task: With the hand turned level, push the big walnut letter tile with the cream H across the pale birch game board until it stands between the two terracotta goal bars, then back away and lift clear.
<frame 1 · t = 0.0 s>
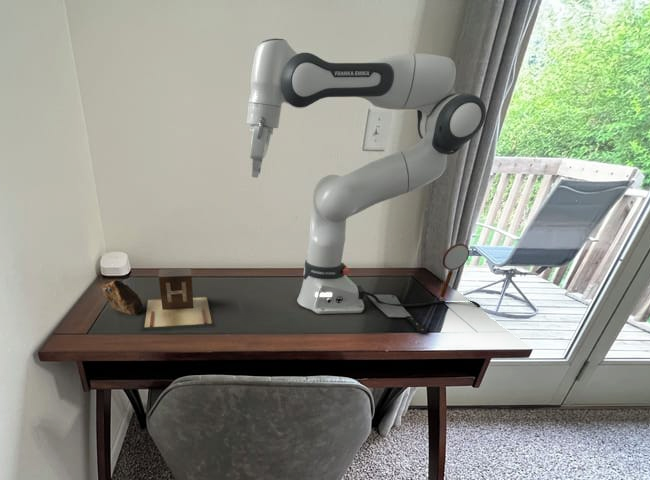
hand: (256, 175, 103), 39 cm above the table, tool pointing down, fingers open, 8 cm apart
magnifying glass: (440, 301, 126), on the table
decorative rock: (125, 312, 114), on the table
cleaver: (395, 313, 117), on the table
letter H: (177, 304, 118), point 1 cm above the table, touching game board
game board: (178, 313, 114), on the table
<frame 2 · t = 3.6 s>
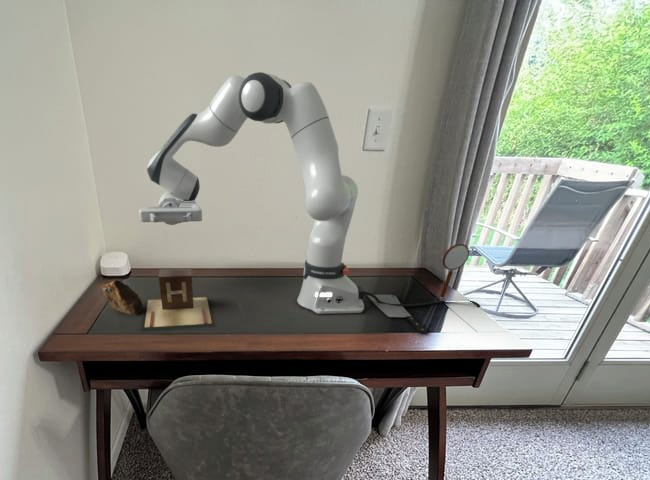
hand: (171, 219, 110), 26 cm above the table, tool horizontal, fingers open, 8 cm apart
nothing on the table moved.
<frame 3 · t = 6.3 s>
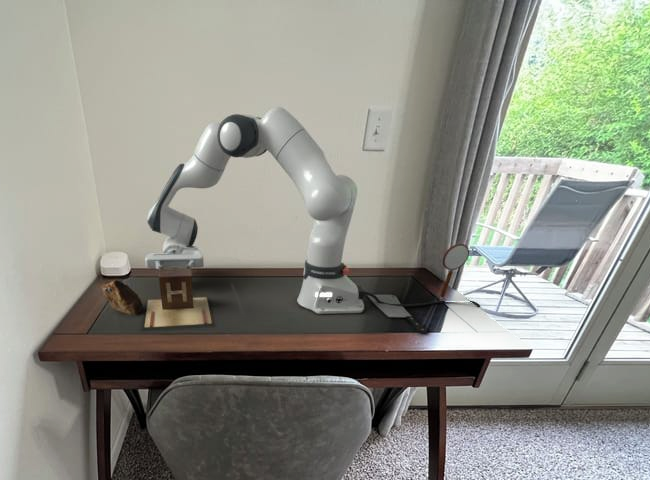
hand: (174, 268, 119), 10 cm above the table, tool horizontal, fingers open, 8 cm apart
nothing on the table moved.
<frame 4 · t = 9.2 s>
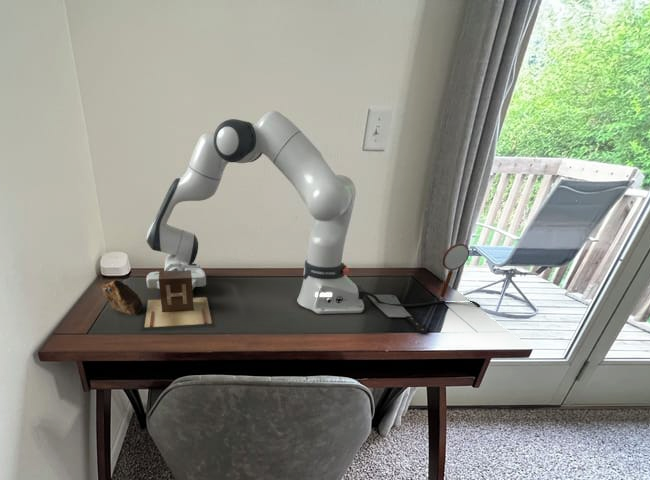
hand: (176, 288, 116), 6 cm above the table, tool horizontal, fingers open, 8 cm apart
letter H: (177, 306, 116), point 1 cm above the table, touching game board
everything else where it was.
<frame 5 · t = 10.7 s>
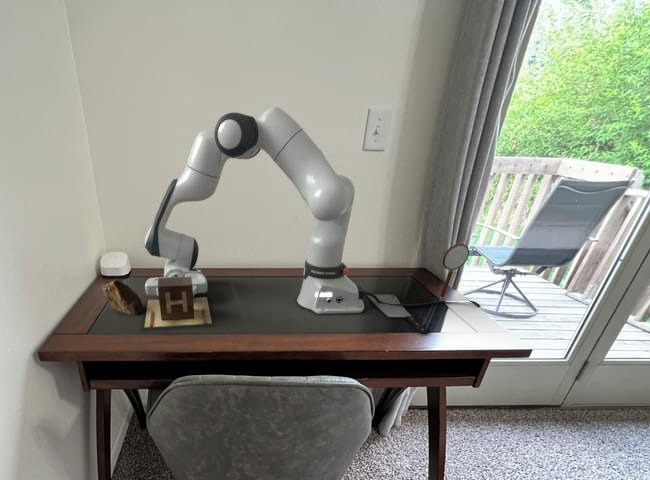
hand: (176, 295, 111), 6 cm above the table, tool horizontal, fingers open, 8 cm apart
letter H: (178, 314, 111), point 1 cm above the table, touching game board, gripper
everything else where it was.
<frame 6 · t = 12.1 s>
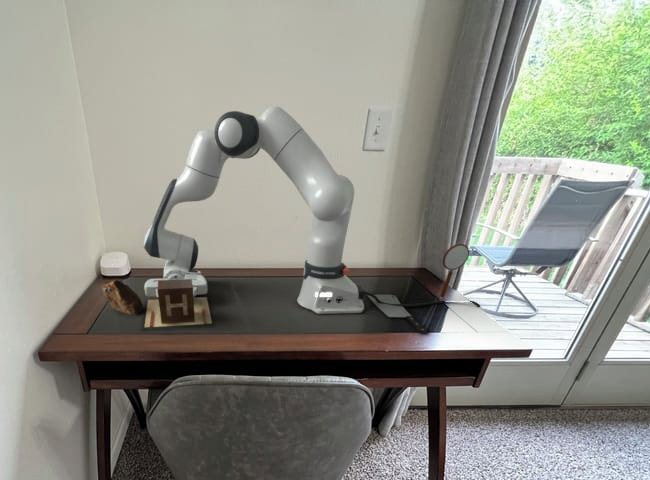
hand: (176, 296, 110), 6 cm above the table, tool horizontal, fingers open, 8 cm apart
letter H: (178, 317, 109), point 1 cm above the table, touching game board
everything else where it was.
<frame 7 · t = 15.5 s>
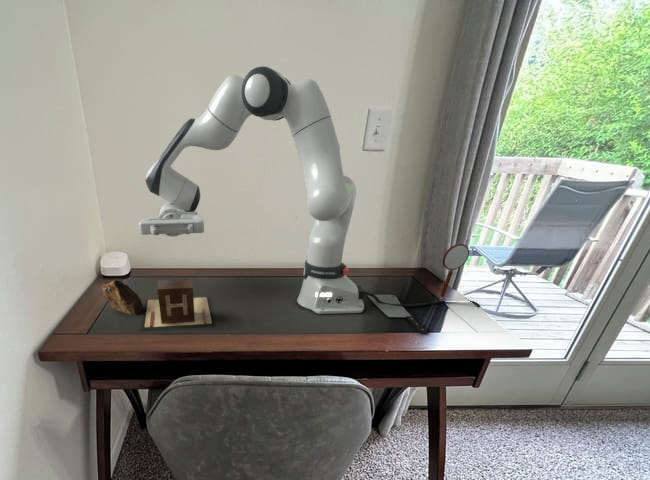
hand: (171, 231, 106), 24 cm above the table, tool horizontal, fingers open, 8 cm apart
nothing on the table moved.
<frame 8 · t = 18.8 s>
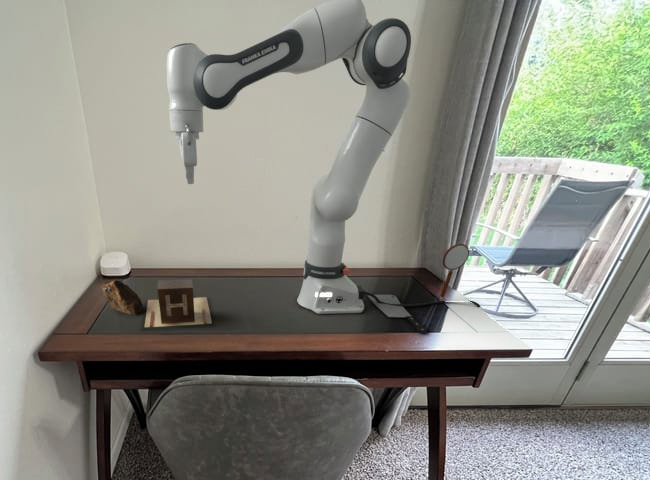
hand: (190, 181, 102), 37 cm above the table, tool pointing down, fingers open, 8 cm apart
nothing on the table moved.
at the end: letter H 0.1 cm from the target spot on the game board, point 0.8 cm above the game board's base; letter H tilted 0°; the gripper is holding nothing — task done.
